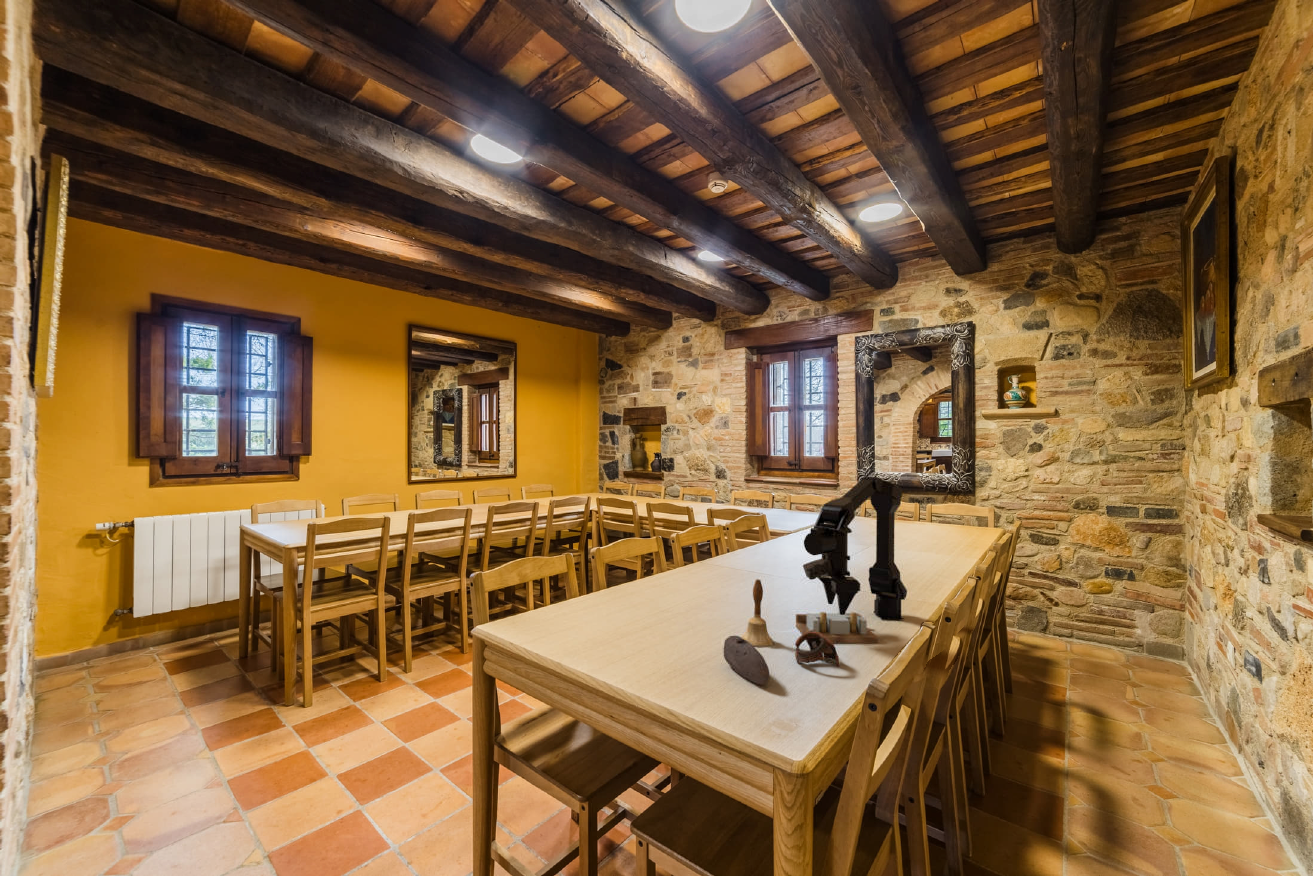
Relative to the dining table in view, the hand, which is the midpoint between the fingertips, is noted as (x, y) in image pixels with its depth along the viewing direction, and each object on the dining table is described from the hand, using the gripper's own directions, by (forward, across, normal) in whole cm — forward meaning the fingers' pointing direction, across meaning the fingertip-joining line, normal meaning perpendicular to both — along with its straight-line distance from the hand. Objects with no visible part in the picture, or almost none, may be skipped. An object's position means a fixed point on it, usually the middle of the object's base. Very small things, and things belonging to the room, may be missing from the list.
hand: (836, 609), depth 143 cm
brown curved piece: (+8, +17, -10) cm, 21 cm away
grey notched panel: (+6, 0, 0) cm, 6 cm away
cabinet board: (+7, -1, 0) cm, 7 cm away
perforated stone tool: (+8, +25, -28) cm, 38 cm away
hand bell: (+7, +4, -22) cm, 23 cm away
